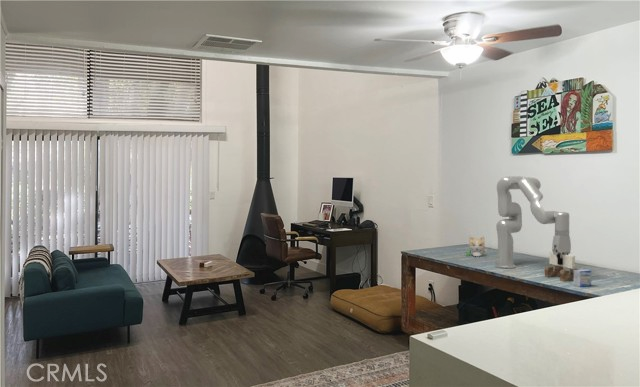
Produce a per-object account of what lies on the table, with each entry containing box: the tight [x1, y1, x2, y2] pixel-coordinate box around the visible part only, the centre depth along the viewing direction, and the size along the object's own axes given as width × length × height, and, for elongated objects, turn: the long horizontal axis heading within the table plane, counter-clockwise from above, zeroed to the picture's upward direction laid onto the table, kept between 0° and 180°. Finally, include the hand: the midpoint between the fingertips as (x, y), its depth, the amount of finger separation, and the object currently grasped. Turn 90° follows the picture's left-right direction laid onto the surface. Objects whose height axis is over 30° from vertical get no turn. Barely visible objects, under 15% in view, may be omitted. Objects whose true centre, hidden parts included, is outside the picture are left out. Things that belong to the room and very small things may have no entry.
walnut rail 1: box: [544, 265, 564, 278], centre depth 281 cm, size 12×2×6 cm, turn 111°
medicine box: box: [573, 268, 592, 288], centre depth 257 cm, size 8×4×9 cm, turn 105°
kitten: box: [465, 235, 487, 258], centre depth 351 cm, size 15×10×15 cm
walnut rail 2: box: [559, 268, 580, 282], centre depth 270 cm, size 12×2×6 cm, turn 111°
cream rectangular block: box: [548, 251, 576, 269], centre depth 275 cm, size 16×2×7 cm, turn 21°
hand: (561, 264), depth 275 cm, fingers closed on cream rectangular block, 2 cm apart
